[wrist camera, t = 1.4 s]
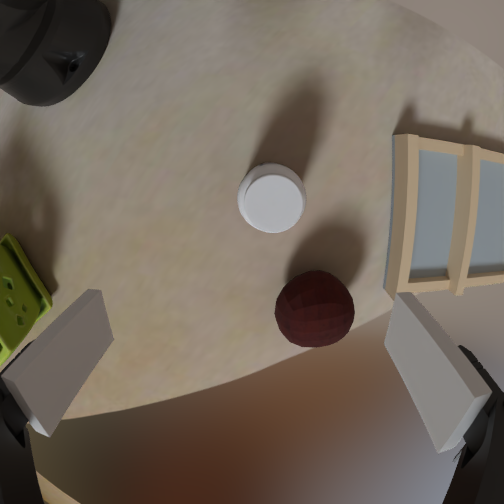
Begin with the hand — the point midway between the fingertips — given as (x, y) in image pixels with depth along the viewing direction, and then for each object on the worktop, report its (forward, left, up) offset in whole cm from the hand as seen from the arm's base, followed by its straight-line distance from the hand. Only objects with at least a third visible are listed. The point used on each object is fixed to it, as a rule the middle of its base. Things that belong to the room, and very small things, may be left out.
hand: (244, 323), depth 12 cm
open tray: (-1, +24, -18) cm, 30 cm away
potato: (+8, +5, -18) cm, 20 cm away
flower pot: (+7, -35, -18) cm, 39 cm away
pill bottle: (-3, +1, -18) cm, 18 cm away
